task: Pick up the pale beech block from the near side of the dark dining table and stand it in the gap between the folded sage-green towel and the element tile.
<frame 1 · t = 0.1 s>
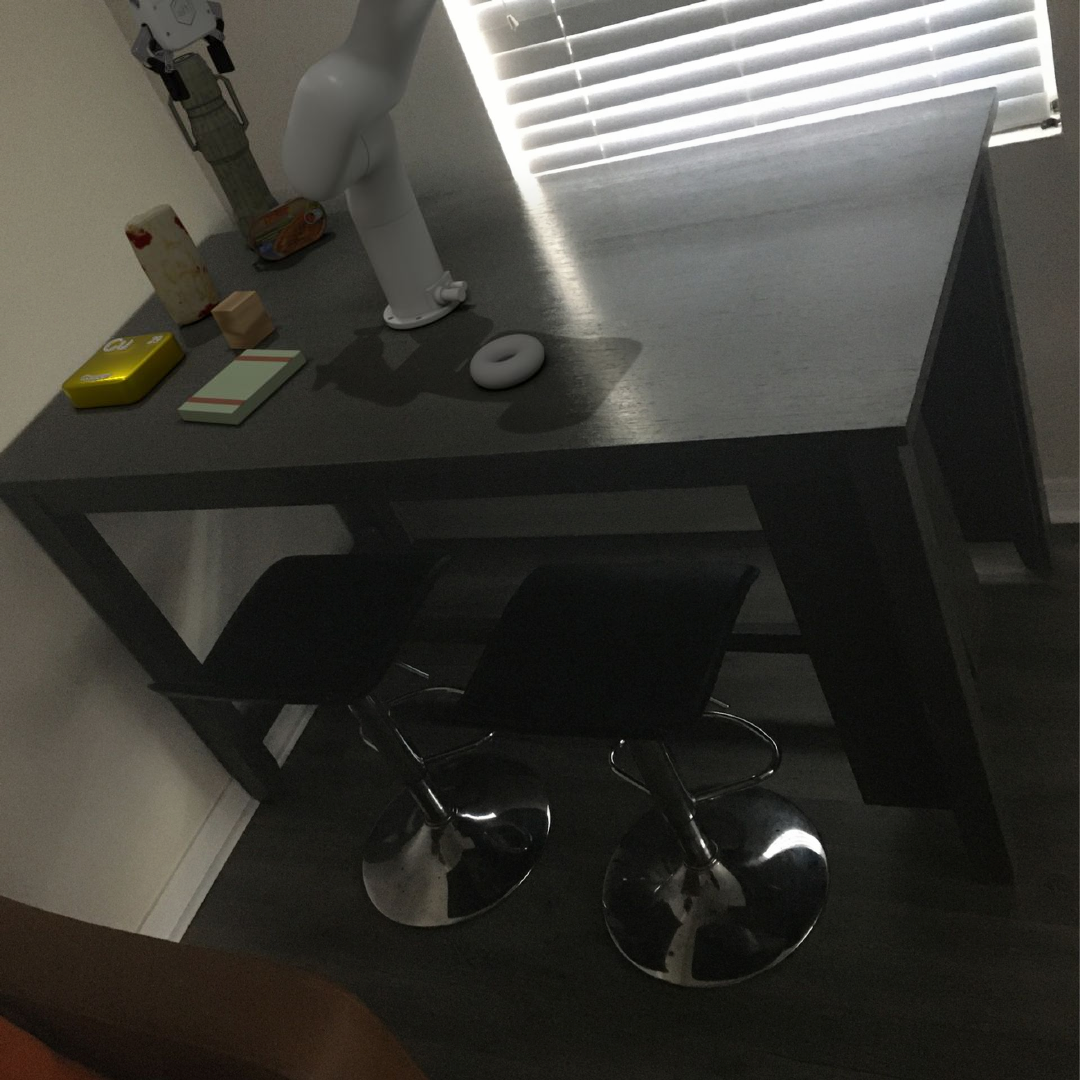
hand: (205, 85, 155), 37 cm above the table, tool pointing down, fingers open, 9 cm apart
towel: (245, 390, 160), on the table
element tile: (131, 382, 177), on the table
donut: (511, 373, 140), on the table
food model: (202, 317, 190), on the table
tin: (297, 248, 202), on the table
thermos: (270, 238, 212), on the table
block: (253, 338, 175), on the table
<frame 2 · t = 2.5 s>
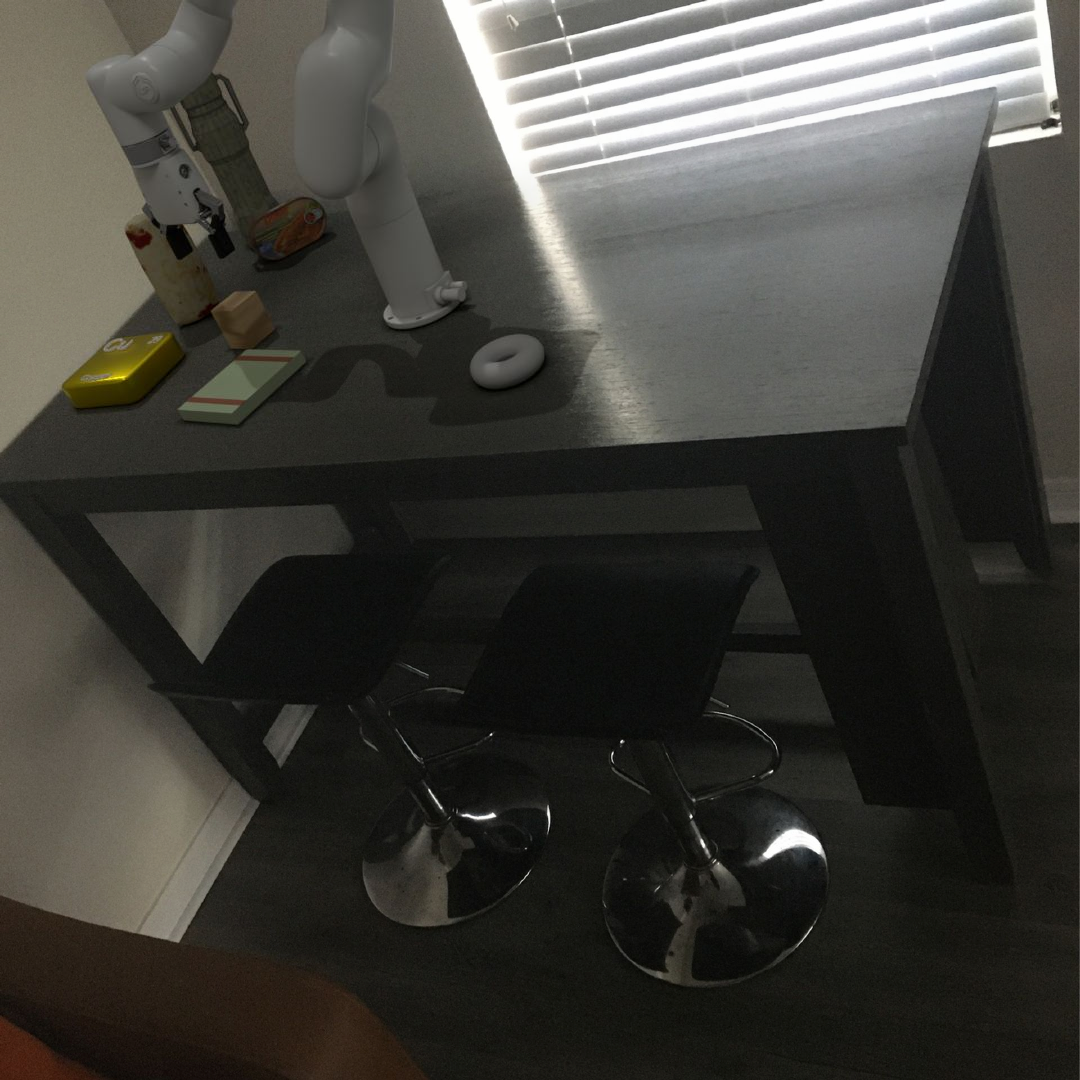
hand: (206, 255, 166), 15 cm above the table, tool pointing down, fingers open, 9 cm apart
nothing on the table moved.
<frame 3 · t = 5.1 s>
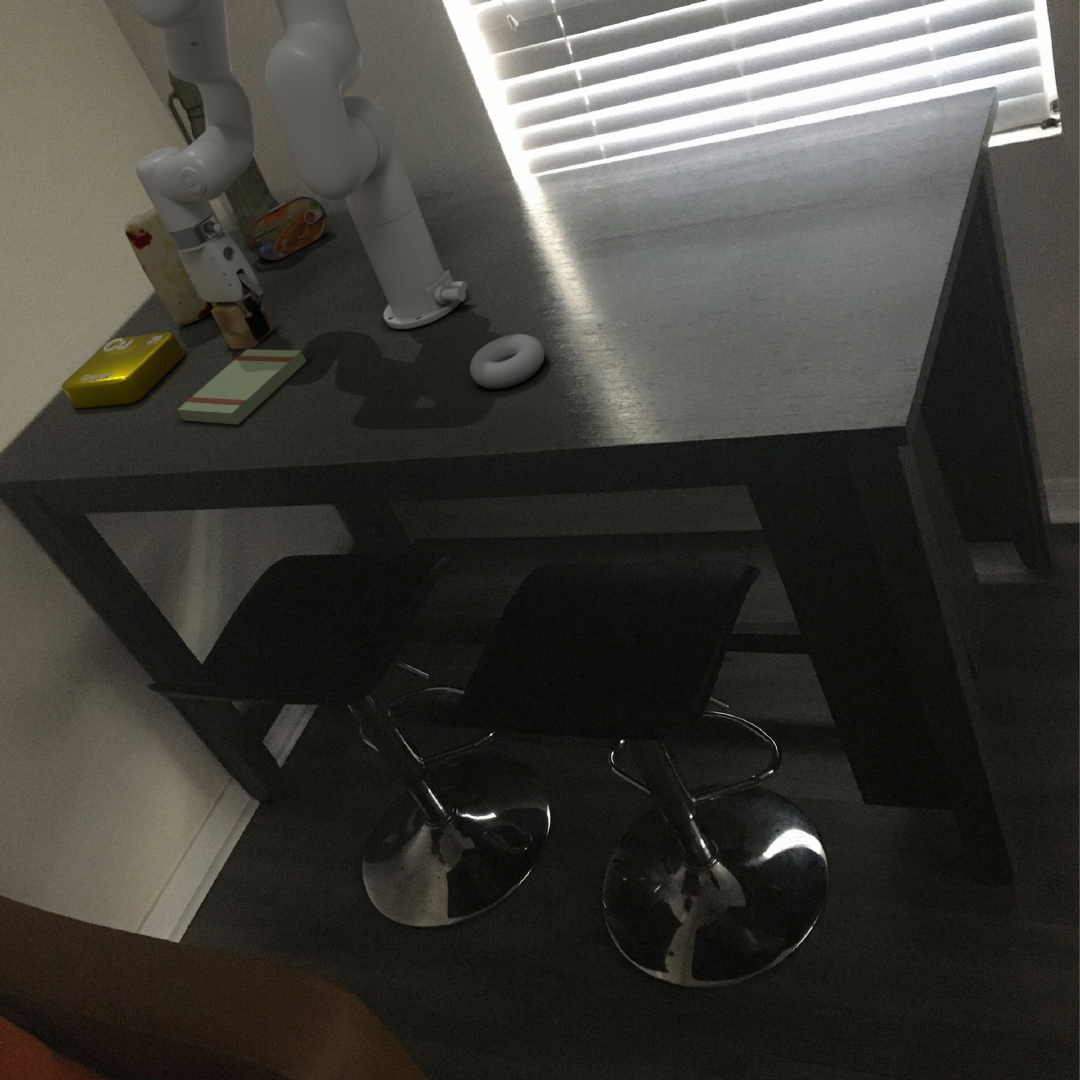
hand: (250, 333, 174), 1 cm above the table, tool pointing down, fingers closed on block, 5 cm apart
block: (253, 338, 175), on the table, touching gripper
everything else where it was.
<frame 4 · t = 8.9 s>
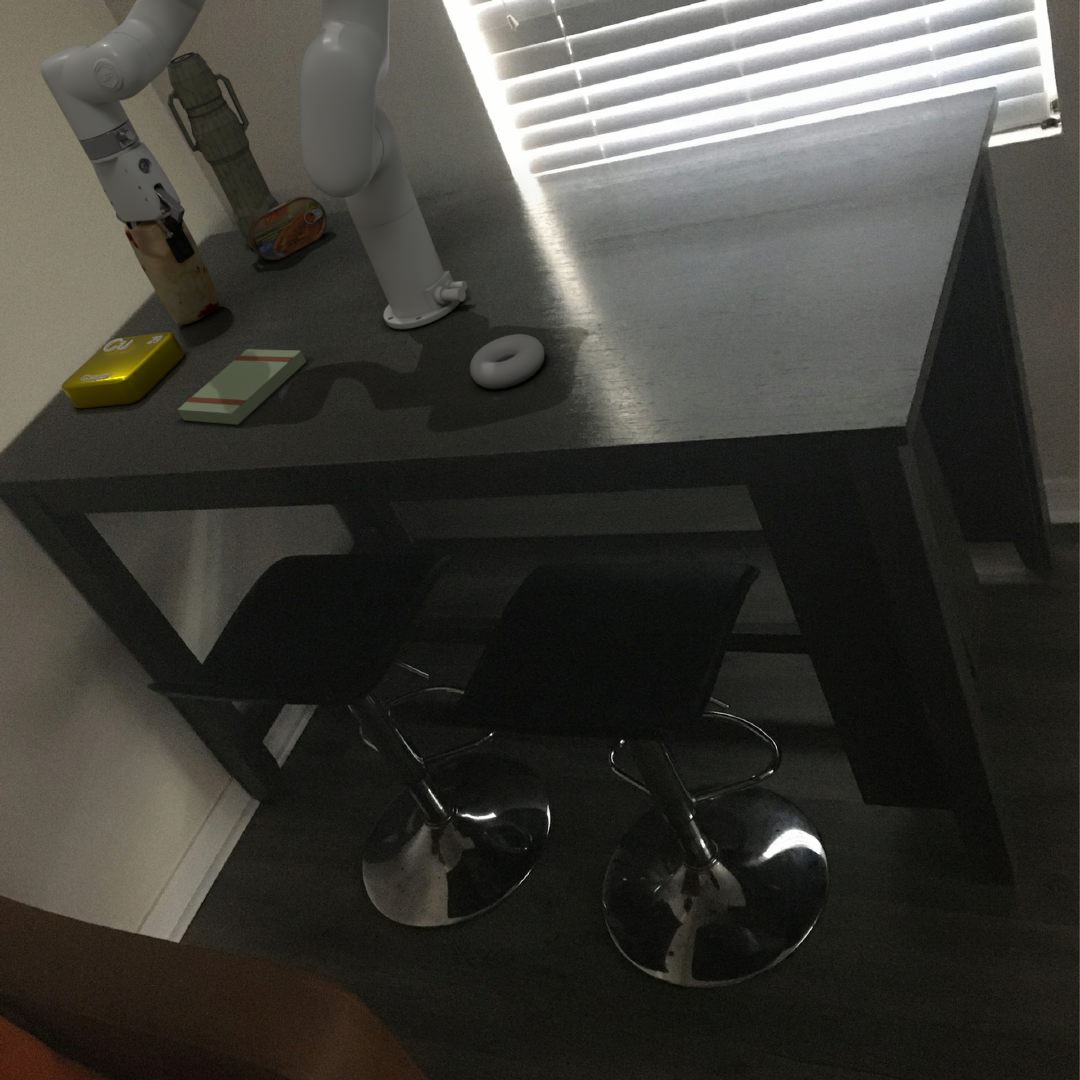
hand: (174, 257, 162), 17 cm above the table, tool pointing down, fingers closed on block, 5 cm apart
block: (177, 263, 162), point 17 cm above the table, touching gripper
everything else where it was.
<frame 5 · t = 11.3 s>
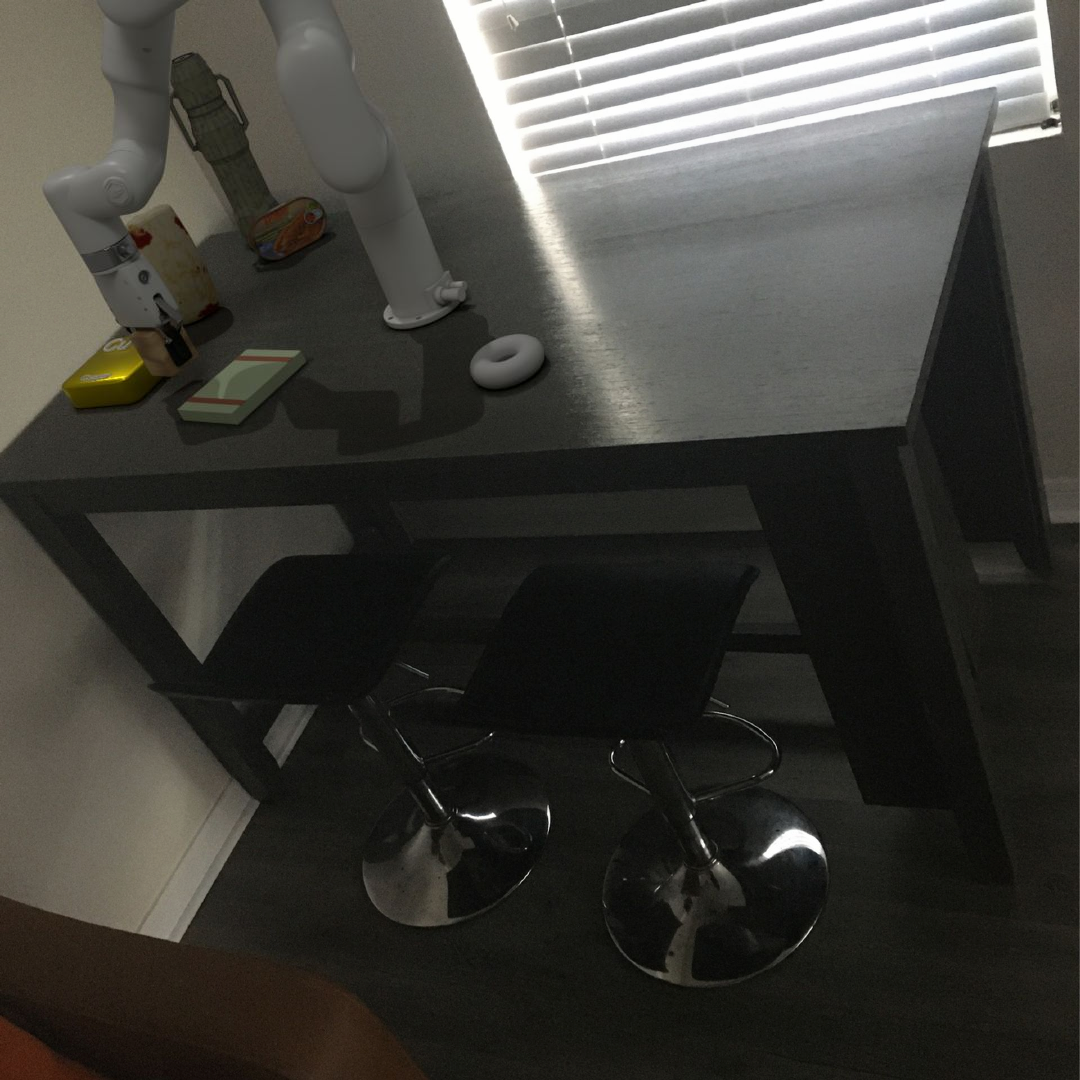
hand: (172, 360, 165), 5 cm above the table, tool pointing down, fingers closed on block, 5 cm apart
block: (175, 365, 166), point 4 cm above the table, touching gripper
everything else where it was.
when the fingers open (1 cm above the table, at t = 12.8 s): block stays where it is, on the table.
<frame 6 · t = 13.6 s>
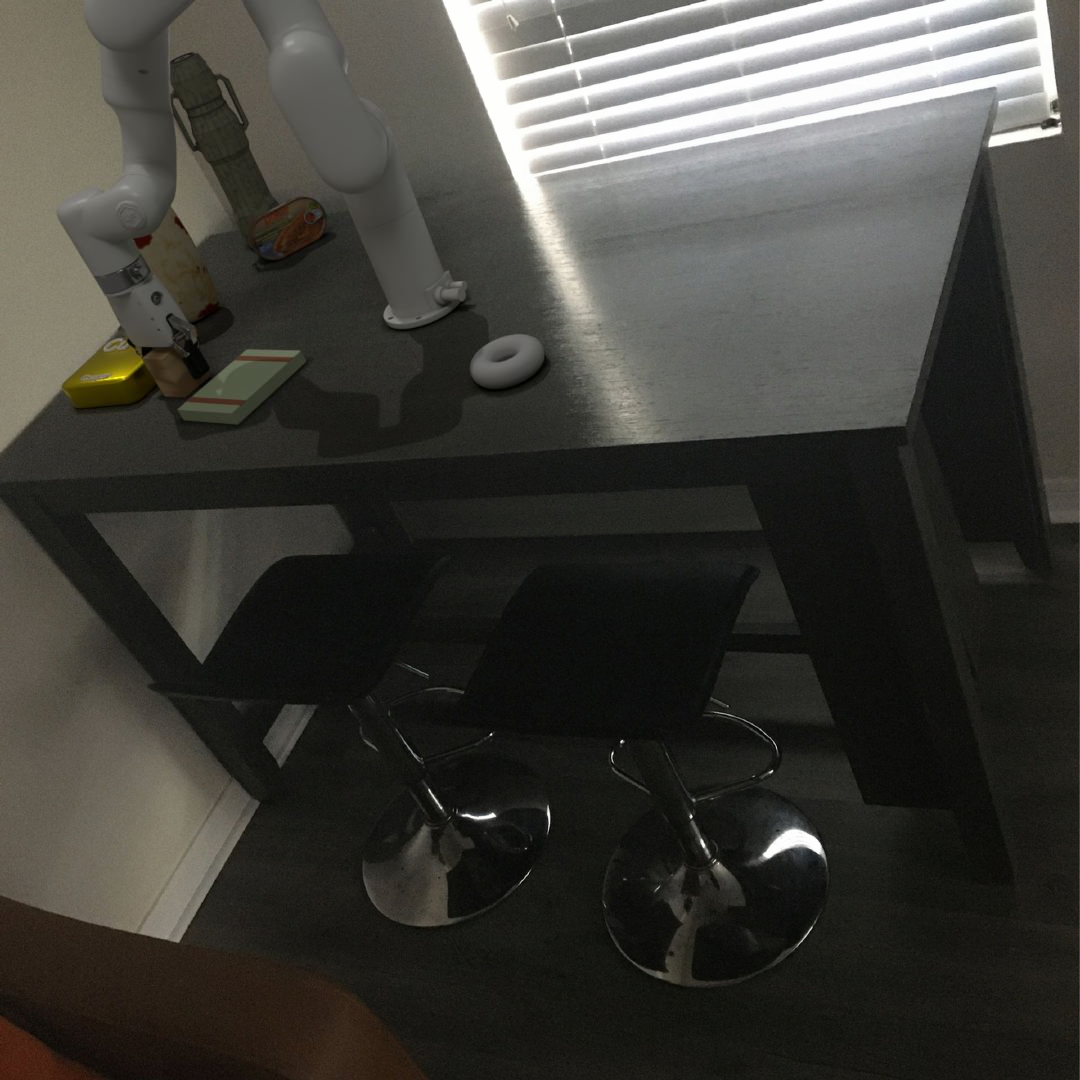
hand: (182, 373, 167), 2 cm above the table, tool pointing down, fingers open, 9 cm apart
block: (187, 386, 168), on the table
everything else where it was.
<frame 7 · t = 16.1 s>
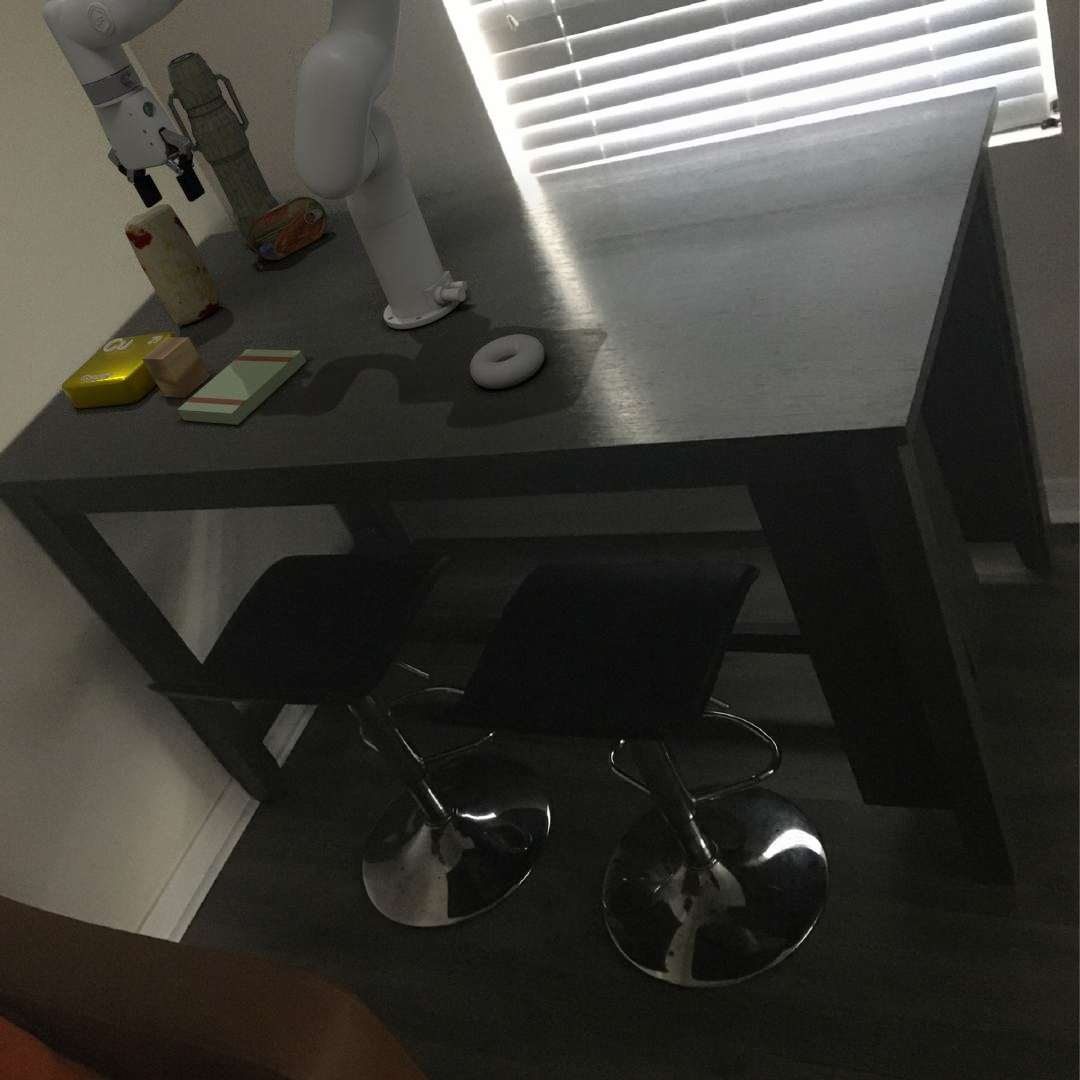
hand: (176, 200, 161), 24 cm above the table, tool pointing down, fingers open, 9 cm apart
nothing on the table moved.
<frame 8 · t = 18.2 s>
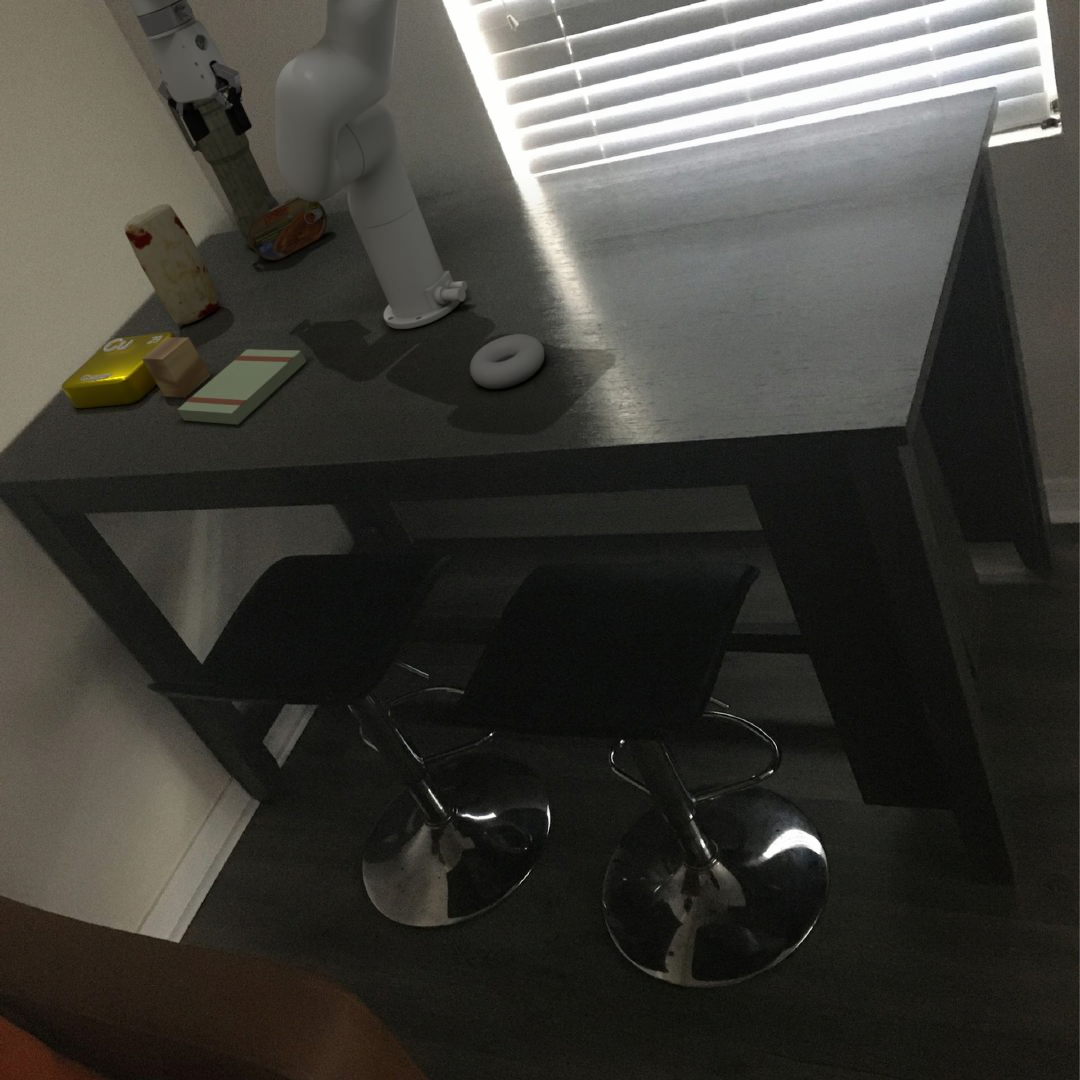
hand: (223, 134, 166), 28 cm above the table, tool pointing down, fingers open, 9 cm apart
nothing on the table moved.
at the end: block inside the target area (0.1 cm from its centre), on the table; block tilted 0°; element tile moved 0.2 cm from its start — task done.
